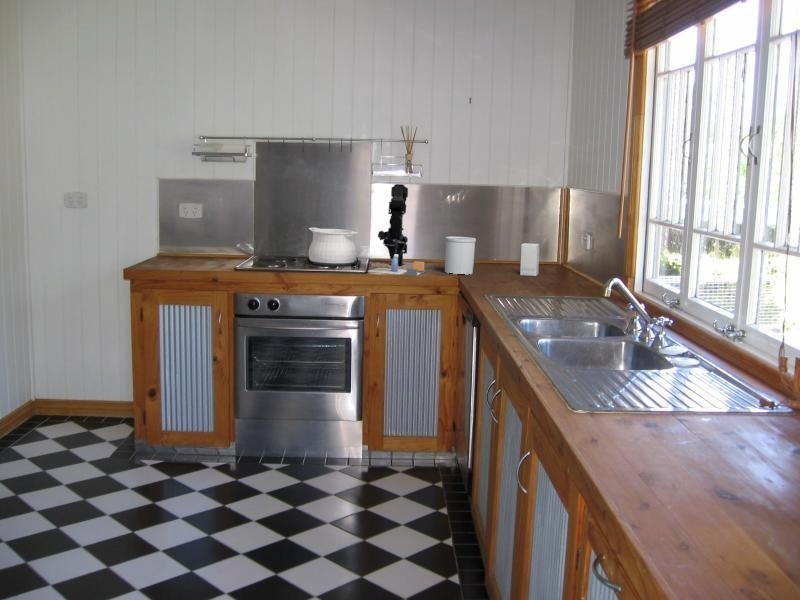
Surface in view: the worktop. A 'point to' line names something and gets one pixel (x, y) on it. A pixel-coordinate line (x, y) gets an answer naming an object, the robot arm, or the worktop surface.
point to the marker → (394, 263)
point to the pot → (332, 247)
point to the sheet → (387, 271)
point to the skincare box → (529, 259)
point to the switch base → (414, 272)
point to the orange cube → (418, 265)
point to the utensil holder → (459, 255)
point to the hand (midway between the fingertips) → (394, 258)
